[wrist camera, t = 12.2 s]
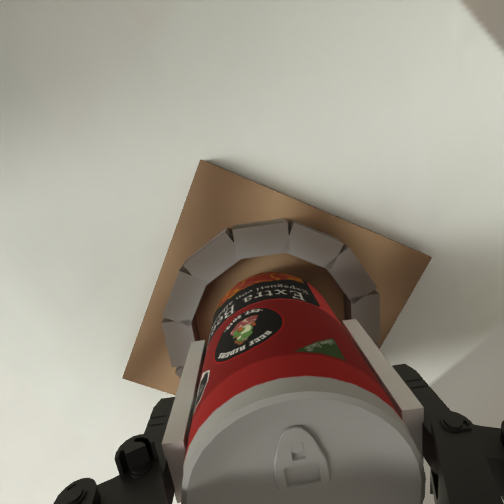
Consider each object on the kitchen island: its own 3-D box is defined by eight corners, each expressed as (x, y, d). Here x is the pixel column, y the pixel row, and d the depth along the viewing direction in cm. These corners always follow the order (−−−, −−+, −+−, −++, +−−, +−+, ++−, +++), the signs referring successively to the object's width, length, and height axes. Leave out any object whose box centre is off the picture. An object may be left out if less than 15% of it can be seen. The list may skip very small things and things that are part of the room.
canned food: (299, 246, 19) (375, 347, 8) (348, 349, 21) (462, 540, 10) (189, 300, 19) (125, 459, 9) (246, 395, 21) (251, 620, 11)
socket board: (128, 367, 23) (113, 393, 20) (202, 160, 19) (196, 158, 17) (321, 430, 25) (330, 460, 22) (421, 252, 21) (446, 264, 19)
